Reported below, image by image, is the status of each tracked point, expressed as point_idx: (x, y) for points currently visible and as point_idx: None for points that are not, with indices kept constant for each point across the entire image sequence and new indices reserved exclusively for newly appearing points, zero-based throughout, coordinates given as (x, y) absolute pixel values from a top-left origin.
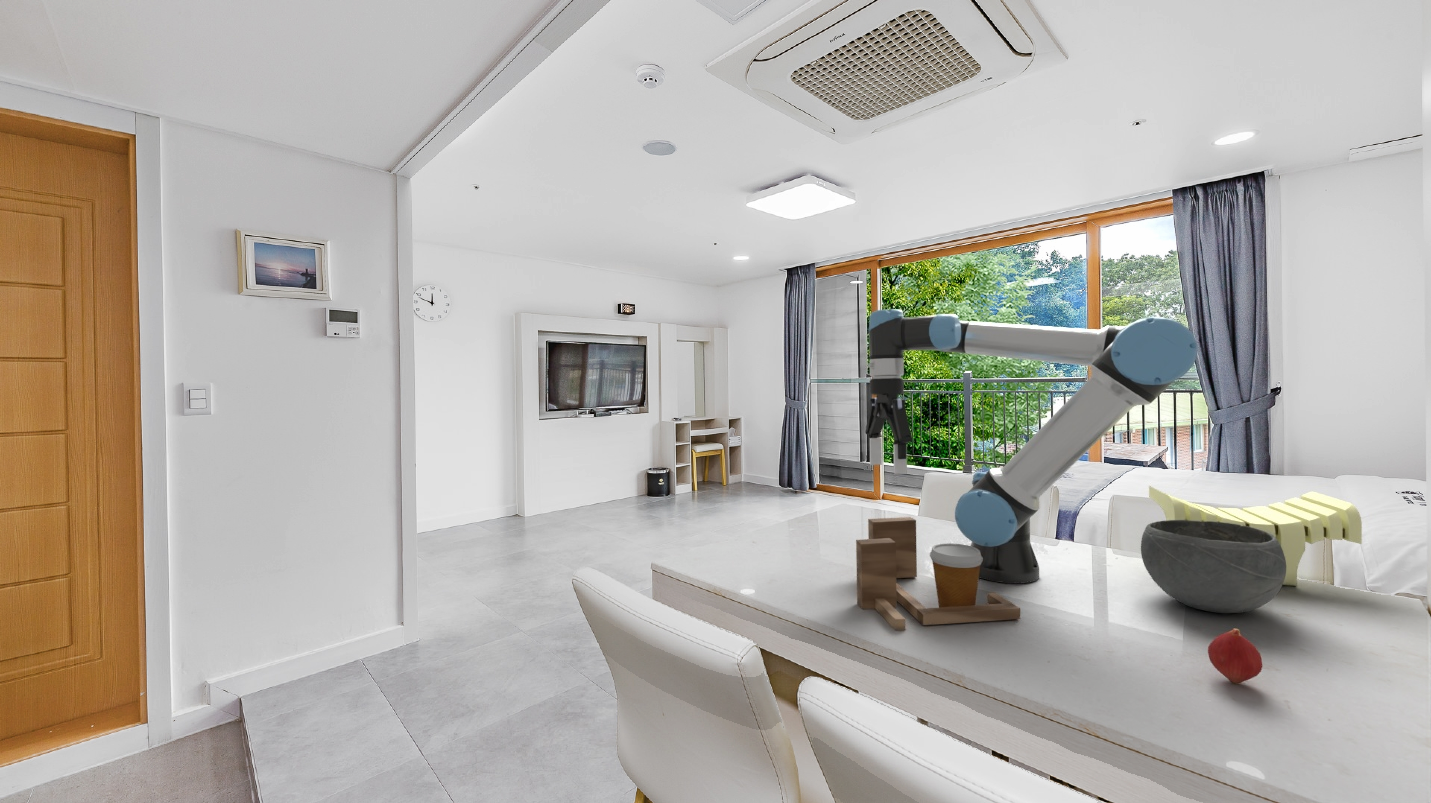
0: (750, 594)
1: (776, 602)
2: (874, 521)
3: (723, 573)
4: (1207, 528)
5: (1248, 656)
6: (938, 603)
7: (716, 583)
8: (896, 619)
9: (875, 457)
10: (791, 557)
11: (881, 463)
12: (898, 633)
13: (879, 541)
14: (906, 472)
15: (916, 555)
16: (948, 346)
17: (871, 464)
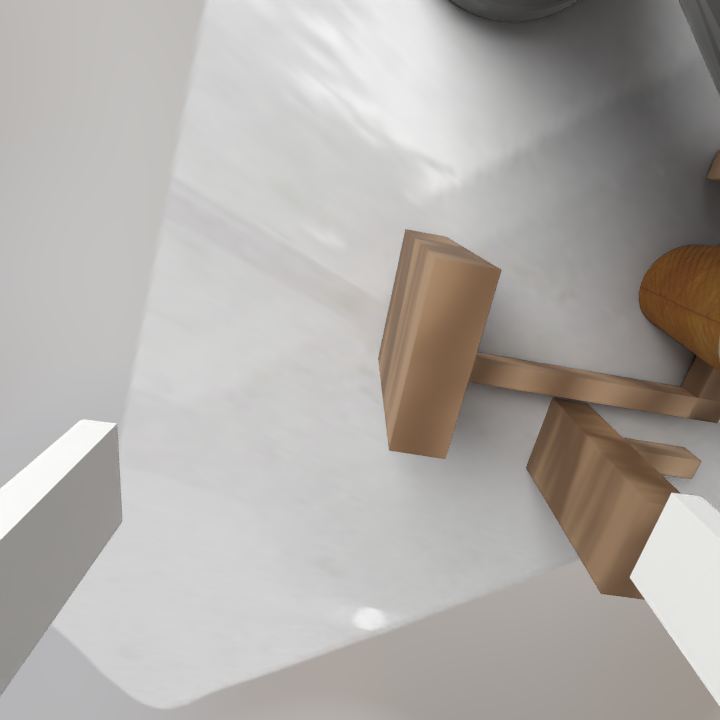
0: (388, 619)
1: (447, 593)
2: (438, 448)
3: (247, 631)
4: None
5: None
6: (660, 328)
7: (305, 653)
8: (692, 477)
9: (73, 540)
10: (161, 474)
11: (110, 432)
12: None
13: None
14: (706, 506)
15: (461, 246)
16: None
17: (120, 522)
